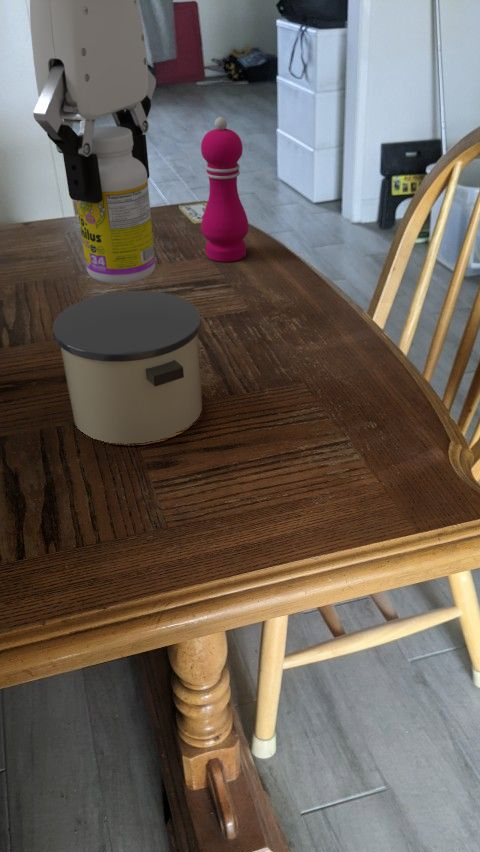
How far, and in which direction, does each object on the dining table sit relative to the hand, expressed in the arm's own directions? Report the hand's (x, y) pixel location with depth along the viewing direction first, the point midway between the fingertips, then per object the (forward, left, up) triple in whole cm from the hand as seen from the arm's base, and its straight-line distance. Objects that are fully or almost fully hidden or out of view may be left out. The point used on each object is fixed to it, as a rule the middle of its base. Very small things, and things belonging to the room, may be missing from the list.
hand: (110, 187), depth 71 cm
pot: (0, 0, -24) cm, 24 cm away
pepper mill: (+32, +34, -24) cm, 53 cm away
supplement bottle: (0, 0, -8) cm, 8 cm away
